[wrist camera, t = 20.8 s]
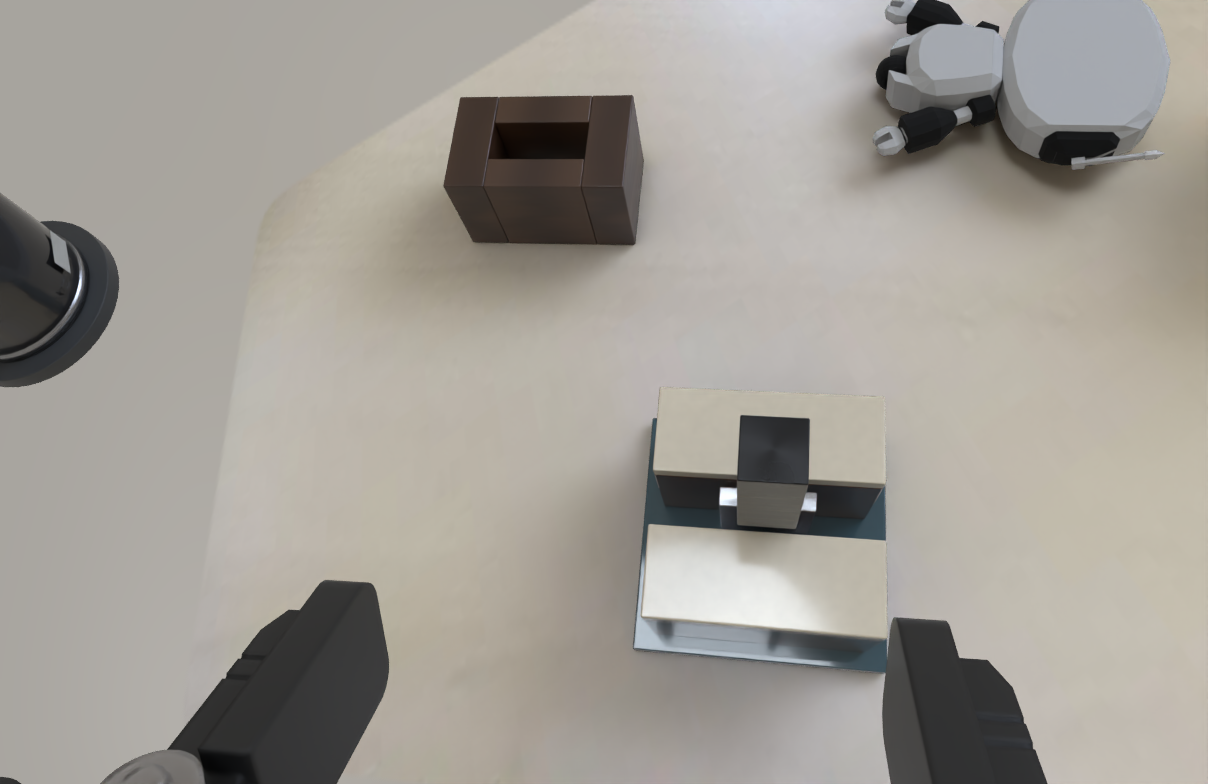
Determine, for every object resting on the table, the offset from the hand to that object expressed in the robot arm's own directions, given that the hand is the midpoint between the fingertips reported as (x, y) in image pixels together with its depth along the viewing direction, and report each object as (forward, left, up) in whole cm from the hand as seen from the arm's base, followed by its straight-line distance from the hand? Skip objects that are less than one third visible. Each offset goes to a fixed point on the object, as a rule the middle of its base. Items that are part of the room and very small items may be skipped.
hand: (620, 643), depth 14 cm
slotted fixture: (+3, +8, -31) cm, 32 cm away
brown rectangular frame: (-10, +28, -31) cm, 43 cm away
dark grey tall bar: (+3, +8, -30) cm, 32 cm away
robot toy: (+16, +35, -31) cm, 50 cm away
